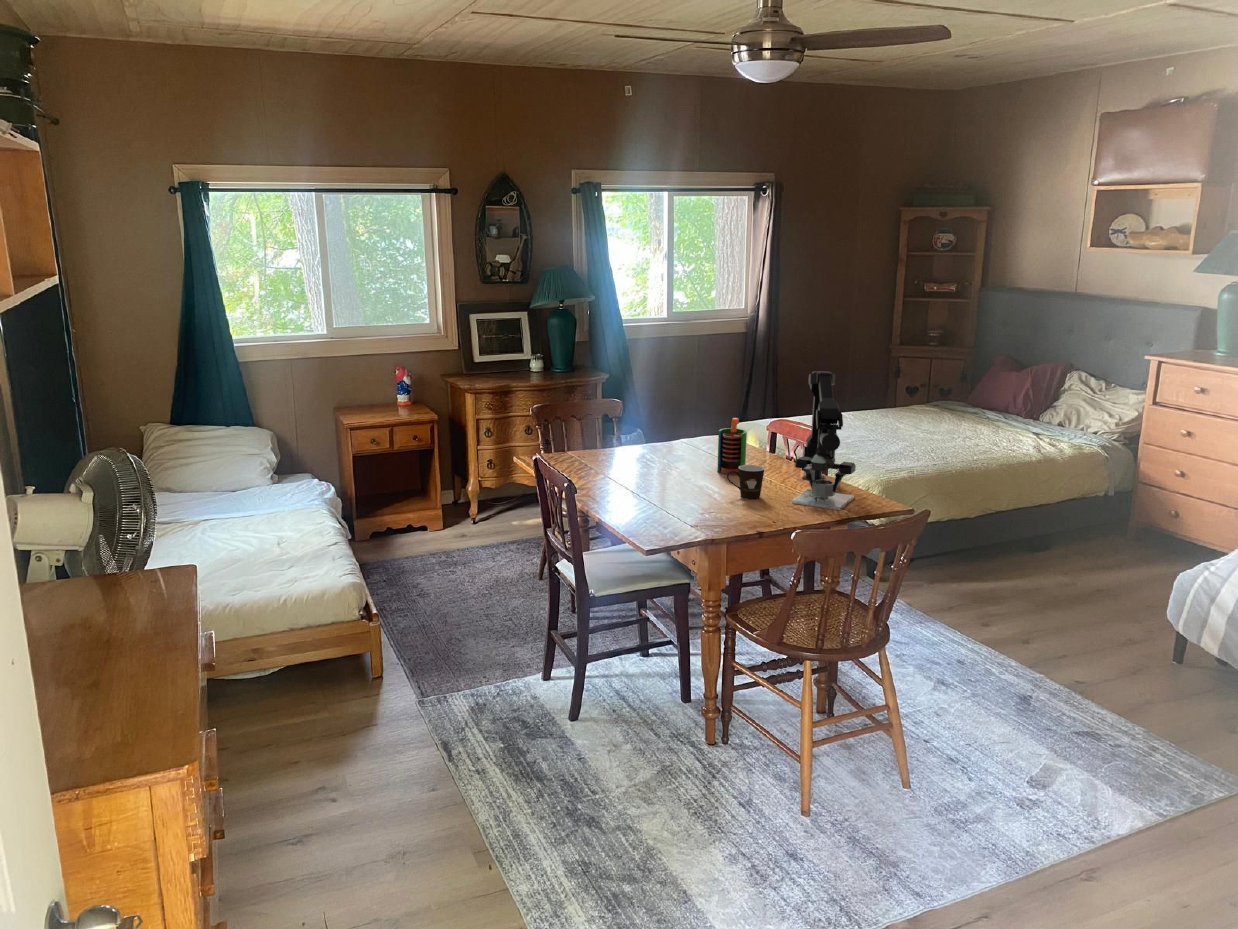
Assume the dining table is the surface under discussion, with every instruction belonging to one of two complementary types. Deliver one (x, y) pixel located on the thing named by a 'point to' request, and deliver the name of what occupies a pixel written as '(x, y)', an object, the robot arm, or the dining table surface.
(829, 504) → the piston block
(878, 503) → the dining table surface
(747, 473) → the coffee mug
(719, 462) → the motor
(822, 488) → the octagonal hollow lampshade
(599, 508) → the dining table surface
